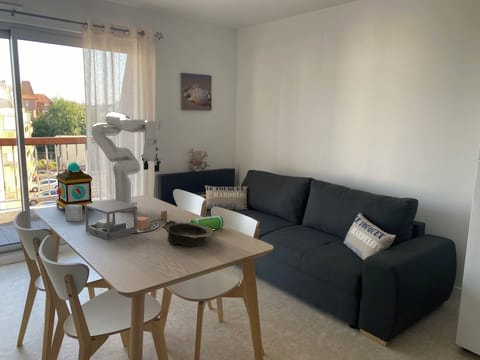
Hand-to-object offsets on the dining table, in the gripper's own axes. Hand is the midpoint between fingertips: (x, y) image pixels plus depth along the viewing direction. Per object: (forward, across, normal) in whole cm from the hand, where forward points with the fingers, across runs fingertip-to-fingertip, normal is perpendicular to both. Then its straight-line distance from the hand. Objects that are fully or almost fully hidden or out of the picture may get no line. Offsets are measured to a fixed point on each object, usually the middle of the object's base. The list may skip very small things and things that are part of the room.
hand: (151, 170), depth 216 cm
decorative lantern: (+29, +47, +22) cm, 59 cm away
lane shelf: (+28, -7, +32) cm, 43 cm away
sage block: (+28, -2, +33) cm, 44 cm away
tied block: (+28, -12, +10) cm, 32 cm away
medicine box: (+29, +25, +35) cm, 52 cm away
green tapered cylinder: (+29, -41, -4) cm, 50 cm away
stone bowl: (+29, -47, +16) cm, 57 cm away
